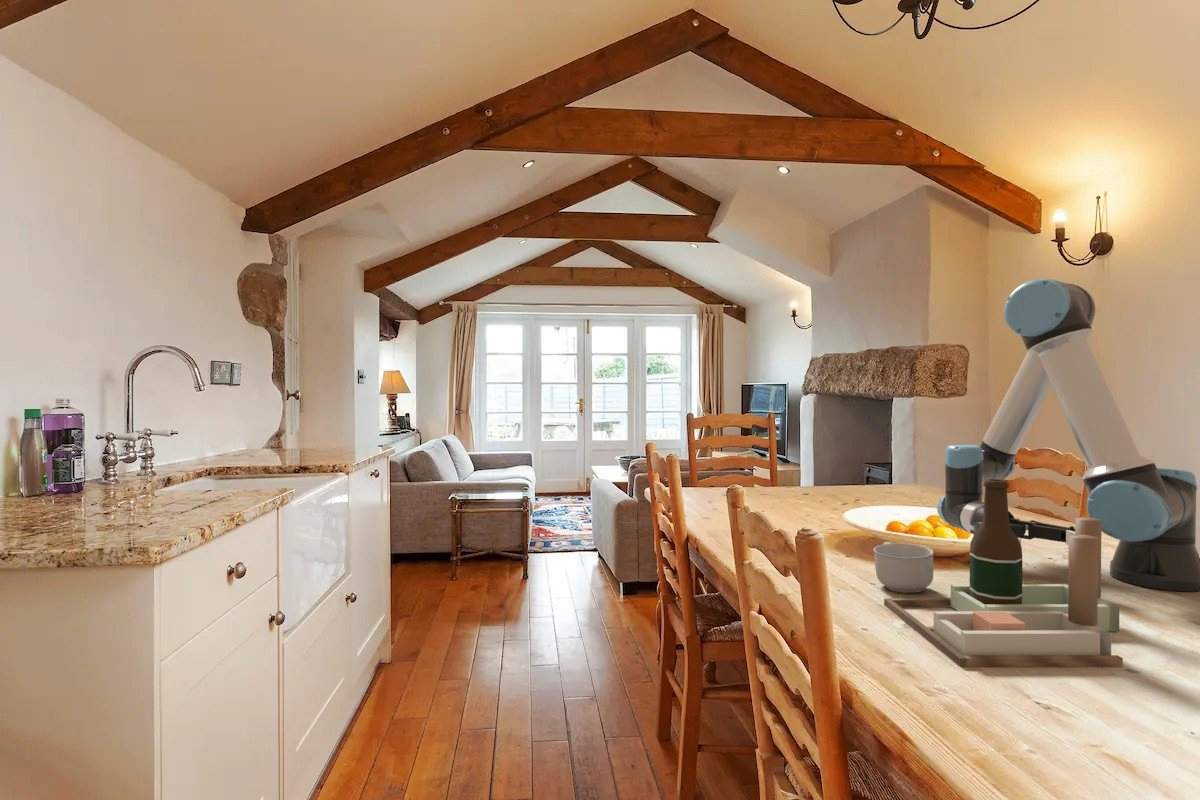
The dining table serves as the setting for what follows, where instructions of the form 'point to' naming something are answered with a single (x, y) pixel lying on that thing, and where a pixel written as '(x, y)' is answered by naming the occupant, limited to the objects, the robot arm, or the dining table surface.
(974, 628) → the terracotta cube
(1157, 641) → the dining table surface
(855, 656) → the dining table surface
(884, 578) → the teacup
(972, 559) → the beer bottle
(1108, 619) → the bottle sled
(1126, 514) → the robot arm
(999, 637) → the tray
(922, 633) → the lane rails
